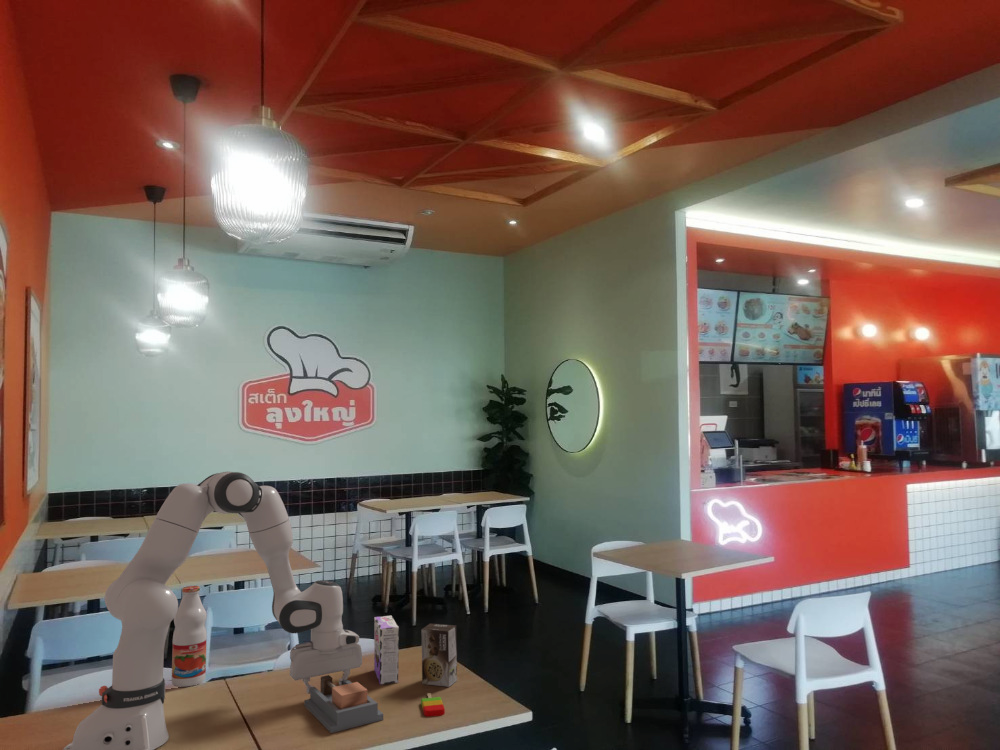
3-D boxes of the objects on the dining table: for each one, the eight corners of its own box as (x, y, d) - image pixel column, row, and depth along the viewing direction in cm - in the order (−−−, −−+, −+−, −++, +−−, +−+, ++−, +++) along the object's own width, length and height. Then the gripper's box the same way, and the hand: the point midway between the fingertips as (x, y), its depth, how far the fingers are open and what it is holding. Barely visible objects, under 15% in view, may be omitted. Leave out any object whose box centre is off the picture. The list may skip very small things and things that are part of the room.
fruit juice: (203, 674, 215) (205, 582, 217) (207, 683, 207) (210, 588, 209) (169, 680, 210) (172, 586, 212) (173, 689, 202) (176, 592, 204)
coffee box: (457, 680, 207) (457, 625, 209) (449, 687, 201) (448, 630, 203) (430, 676, 211) (430, 622, 212) (420, 684, 205) (420, 628, 206)
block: (341, 724, 175) (341, 695, 176) (312, 696, 194) (312, 670, 195) (367, 718, 179) (367, 689, 180) (336, 691, 198) (336, 665, 199)
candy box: (373, 669, 217) (373, 616, 219) (392, 667, 219) (392, 614, 220) (379, 685, 204) (379, 628, 205) (399, 682, 206) (399, 626, 207)
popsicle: (424, 718, 181) (424, 711, 181) (418, 697, 195) (418, 690, 196) (445, 716, 182) (445, 709, 182) (438, 696, 197) (438, 689, 197)
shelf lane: (331, 733, 172) (331, 714, 172) (304, 705, 189) (304, 688, 189) (383, 719, 179) (383, 701, 180) (353, 694, 197) (353, 678, 197)
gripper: (293, 648, 188) (293, 701, 187) (364, 635, 199) (364, 685, 198) (286, 642, 193) (286, 693, 192) (356, 630, 204) (355, 678, 203)
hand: (326, 689), depth 195 cm, fingers open, 8 cm apart
